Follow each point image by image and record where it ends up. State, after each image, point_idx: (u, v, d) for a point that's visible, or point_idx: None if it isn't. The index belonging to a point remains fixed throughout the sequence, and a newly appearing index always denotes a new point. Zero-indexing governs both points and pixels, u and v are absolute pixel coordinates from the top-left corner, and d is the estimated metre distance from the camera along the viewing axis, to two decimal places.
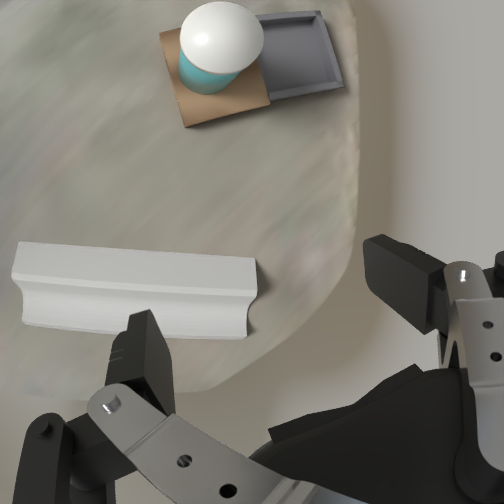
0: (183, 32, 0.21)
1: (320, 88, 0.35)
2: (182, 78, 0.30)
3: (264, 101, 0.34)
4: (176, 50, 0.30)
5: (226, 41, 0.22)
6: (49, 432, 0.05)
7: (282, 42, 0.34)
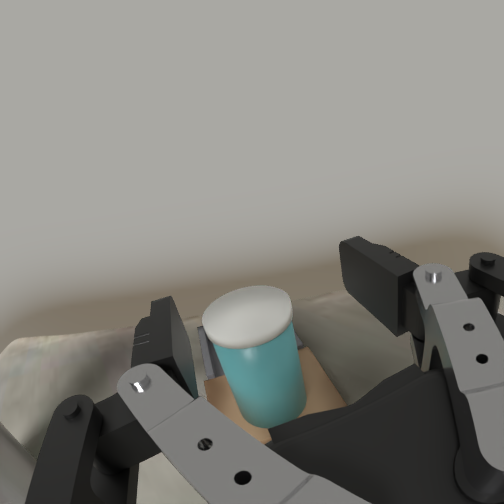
0: (240, 335, 0.21)
1: None
2: (288, 410, 0.25)
3: (305, 351, 0.34)
4: None
5: (253, 305, 0.24)
6: (78, 413, 0.06)
7: None
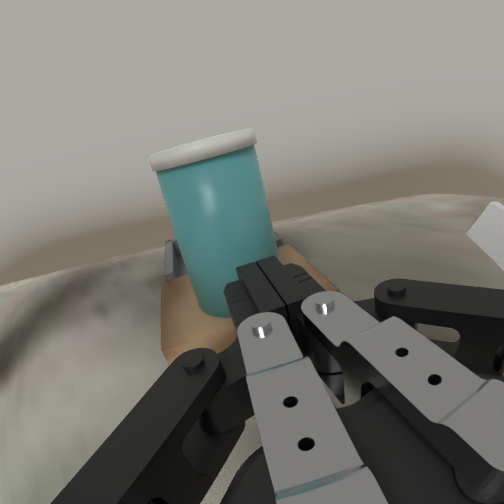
0: (186, 144, 0.16)
1: None
2: None
3: (285, 246, 0.29)
4: (202, 324, 0.21)
5: (210, 137, 0.20)
6: (204, 364, 0.07)
7: None
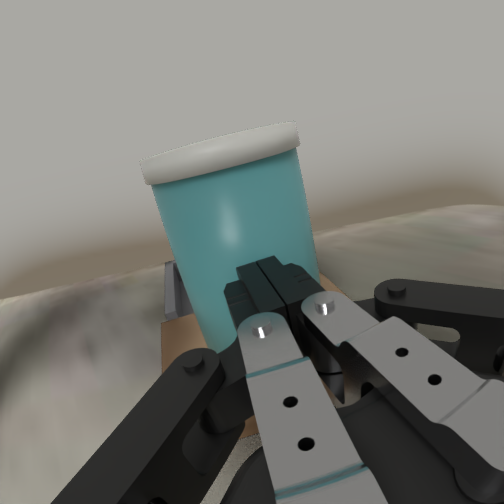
0: (198, 144, 0.10)
1: None
2: None
3: None
4: None
5: (230, 134, 0.13)
6: (204, 364, 0.07)
7: None
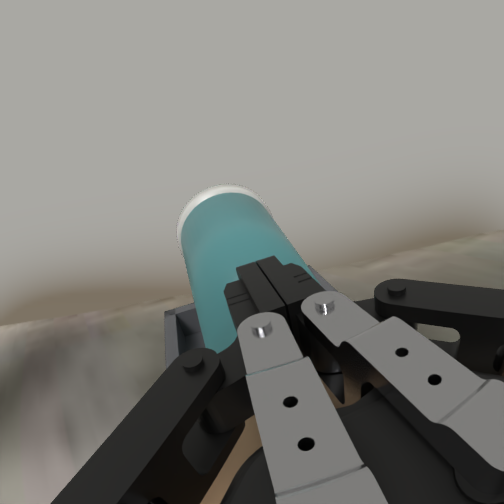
0: None
1: (326, 285, 0.21)
2: None
3: None
4: None
5: None
6: (204, 364, 0.07)
7: None
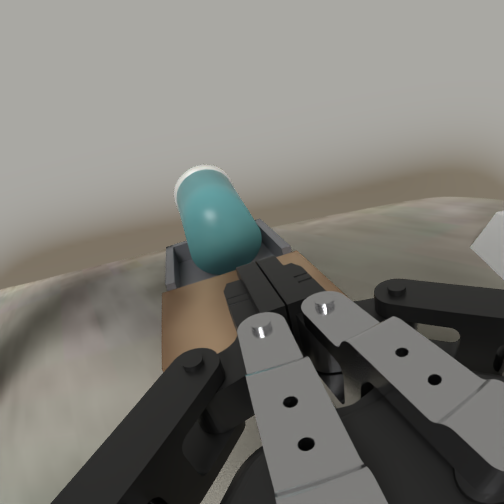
0: None
1: (266, 226, 0.34)
2: (224, 203, 0.28)
3: (294, 254, 0.27)
4: (206, 342, 0.19)
5: None
6: (204, 364, 0.07)
7: None
